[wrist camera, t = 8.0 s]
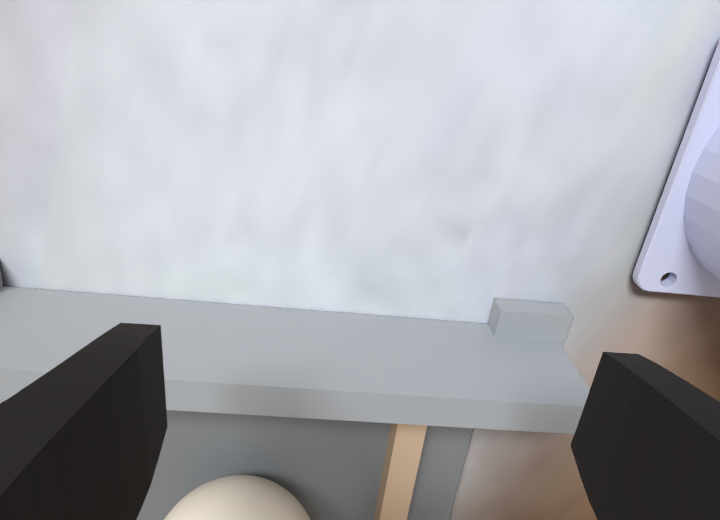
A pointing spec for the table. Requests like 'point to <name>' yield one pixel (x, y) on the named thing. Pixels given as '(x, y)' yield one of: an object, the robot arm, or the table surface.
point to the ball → (238, 501)
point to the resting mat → (315, 463)
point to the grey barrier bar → (319, 359)
